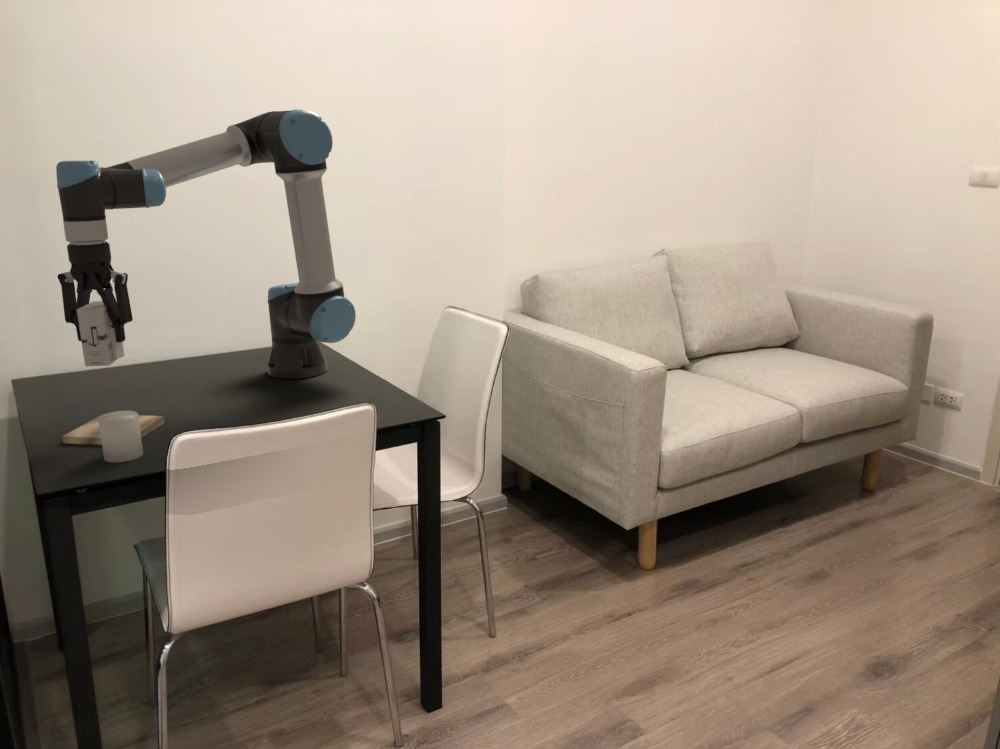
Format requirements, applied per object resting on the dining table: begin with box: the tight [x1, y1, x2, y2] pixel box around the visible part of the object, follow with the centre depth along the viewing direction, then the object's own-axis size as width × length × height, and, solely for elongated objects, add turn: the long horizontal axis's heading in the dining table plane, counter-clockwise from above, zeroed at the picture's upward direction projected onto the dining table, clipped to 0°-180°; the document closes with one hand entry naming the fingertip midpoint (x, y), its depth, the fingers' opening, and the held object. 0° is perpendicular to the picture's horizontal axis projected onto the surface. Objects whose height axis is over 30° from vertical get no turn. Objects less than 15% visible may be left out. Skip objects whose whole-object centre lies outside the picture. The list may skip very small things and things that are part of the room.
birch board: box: [62, 413, 165, 446], centre depth 173 cm, size 14×14×2 cm
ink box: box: [77, 300, 118, 367], centre depth 167 cm, size 9×5×12 cm, turn 4°
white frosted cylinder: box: [98, 410, 144, 463], centre depth 160 cm, size 7×7×8 cm
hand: (104, 356), depth 169 cm, fingers closed on ink box, 6 cm apart
